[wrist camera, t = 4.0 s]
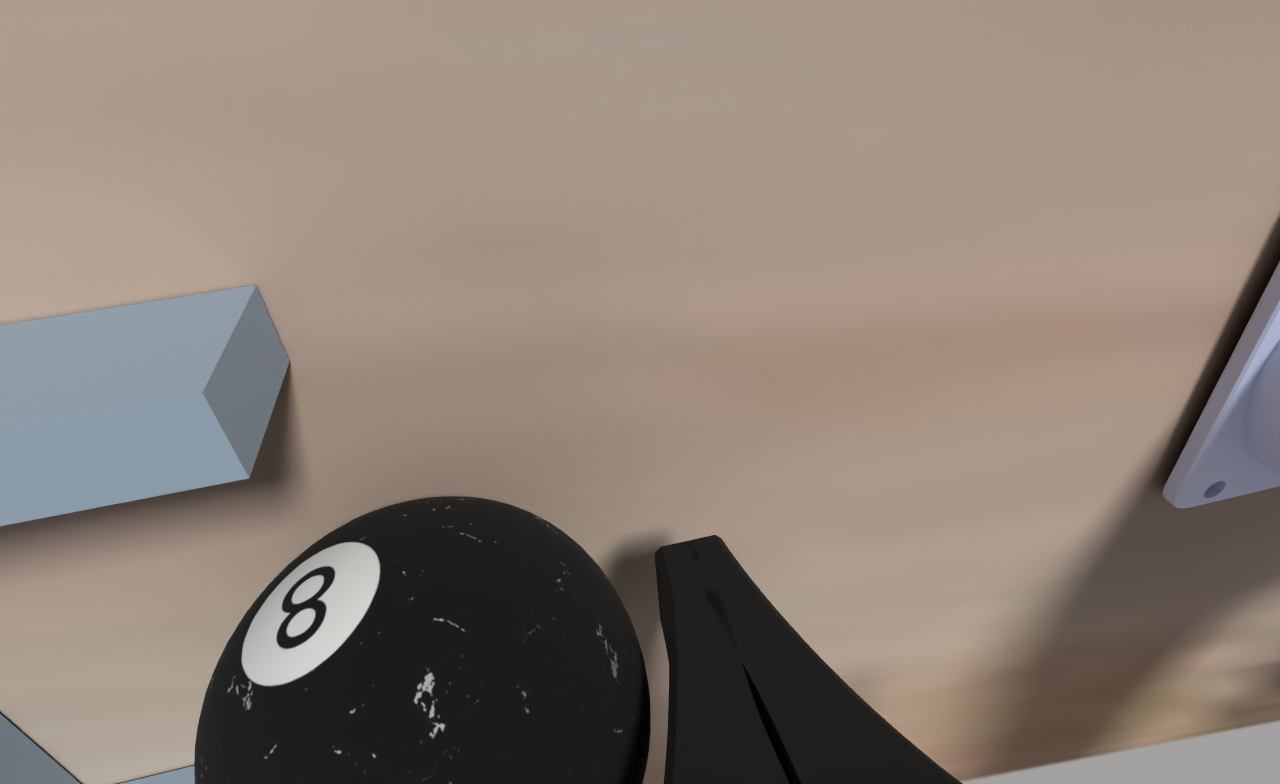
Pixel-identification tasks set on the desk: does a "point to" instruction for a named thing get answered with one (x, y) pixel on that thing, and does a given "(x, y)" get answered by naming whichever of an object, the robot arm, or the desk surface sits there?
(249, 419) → the corral
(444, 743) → the billiard ball
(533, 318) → the desk surface
